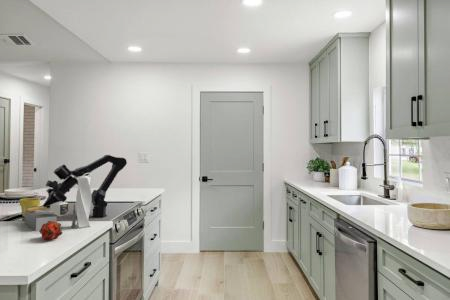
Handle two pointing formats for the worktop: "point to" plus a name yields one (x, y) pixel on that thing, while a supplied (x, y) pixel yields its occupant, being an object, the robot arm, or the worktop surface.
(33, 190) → the worktop surface
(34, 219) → the grey switch box
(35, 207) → the rocker outlet
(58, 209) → the medicine bottle
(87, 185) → the skyscraper
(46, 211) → the rocker outlet
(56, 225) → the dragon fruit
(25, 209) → the plant pot
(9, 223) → the worktop surface
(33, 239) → the worktop surface
